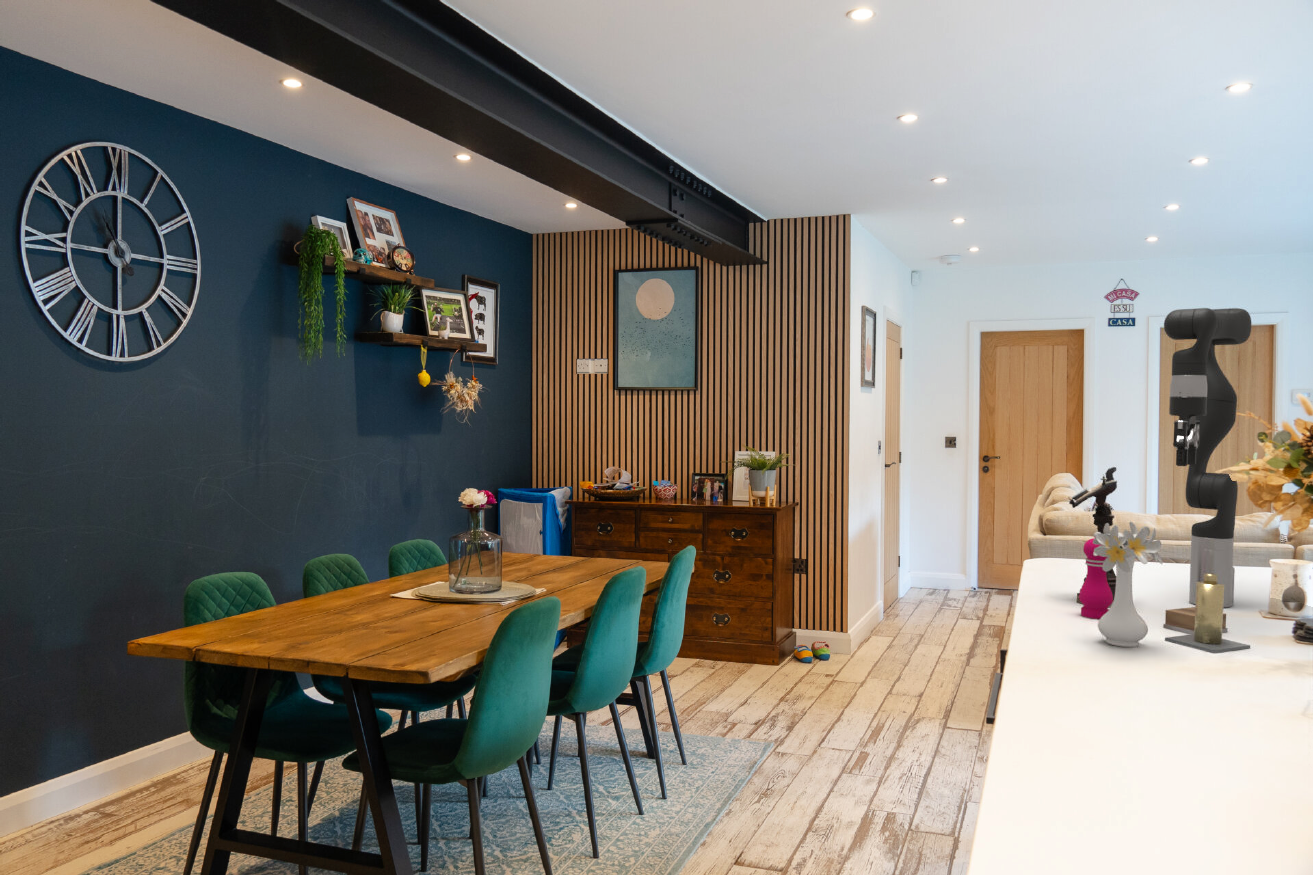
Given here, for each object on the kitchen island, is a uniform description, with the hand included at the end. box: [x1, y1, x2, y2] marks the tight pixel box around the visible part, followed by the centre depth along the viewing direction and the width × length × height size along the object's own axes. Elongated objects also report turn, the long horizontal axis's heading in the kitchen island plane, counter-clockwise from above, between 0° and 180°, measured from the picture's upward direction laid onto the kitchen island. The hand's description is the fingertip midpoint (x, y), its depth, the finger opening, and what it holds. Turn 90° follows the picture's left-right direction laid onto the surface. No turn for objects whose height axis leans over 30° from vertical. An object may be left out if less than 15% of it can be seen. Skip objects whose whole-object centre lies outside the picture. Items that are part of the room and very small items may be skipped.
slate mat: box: [1164, 634, 1251, 654], centre depth 196 cm, size 11×11×1 cm
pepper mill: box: [1079, 531, 1113, 620], centre depth 221 cm, size 7×7×20 cm
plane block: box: [1162, 606, 1228, 635], centre depth 209 cm, size 10×8×4 cm
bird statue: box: [1067, 466, 1118, 609], centre depth 237 cm, size 17×13×35 cm
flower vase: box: [1093, 521, 1163, 648], centre depth 194 cm, size 13×18×25 cm
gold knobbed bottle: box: [1194, 573, 1224, 644], centre depth 196 cm, size 5×5×14 cm
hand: (1185, 465), depth 218 cm, fingers open, 8 cm apart
